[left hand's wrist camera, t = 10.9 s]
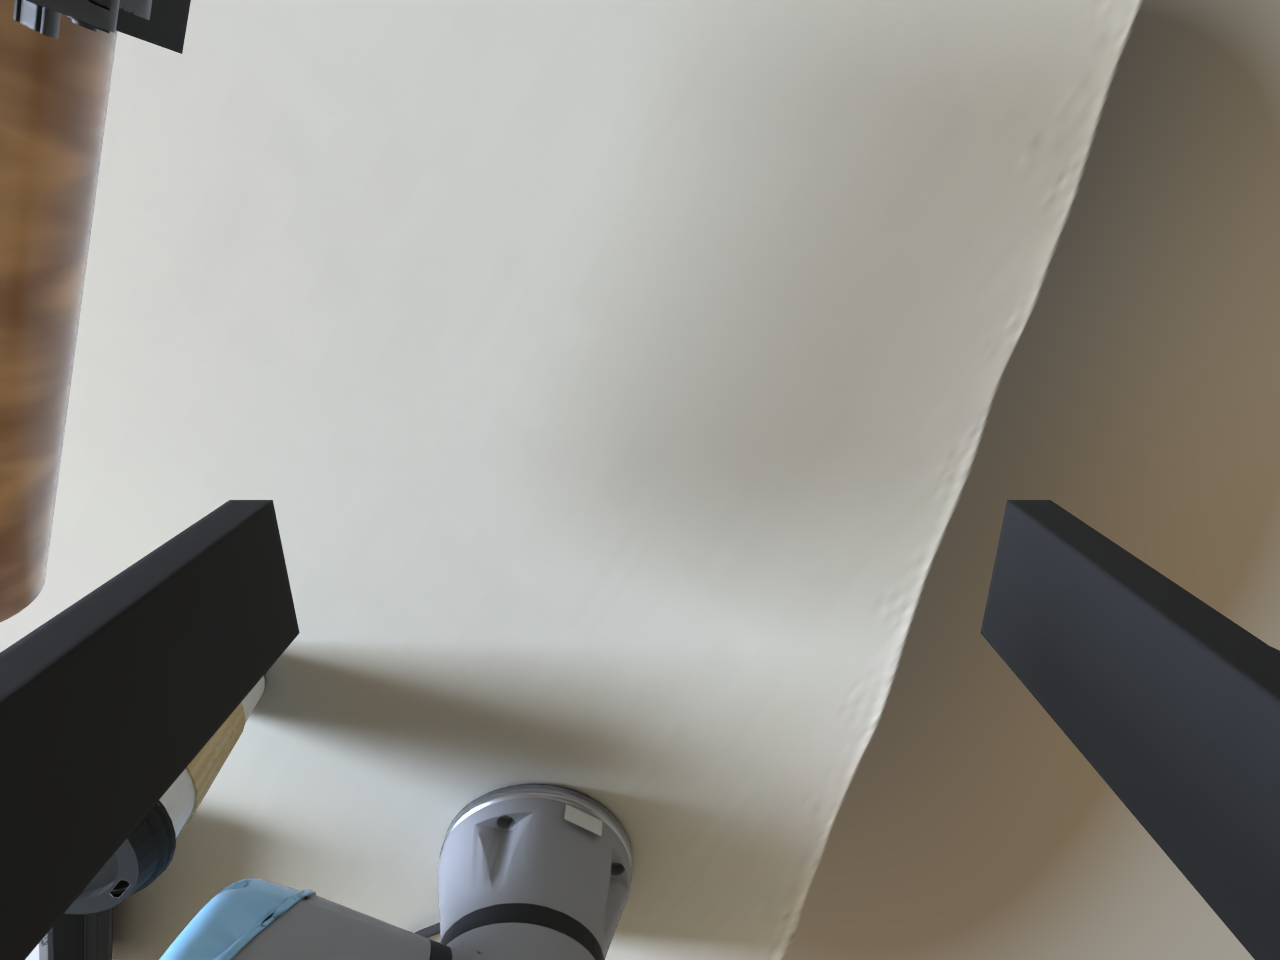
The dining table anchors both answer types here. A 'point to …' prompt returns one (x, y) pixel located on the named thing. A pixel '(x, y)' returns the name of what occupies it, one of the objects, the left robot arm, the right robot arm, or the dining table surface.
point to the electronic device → (78, 938)
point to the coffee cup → (164, 820)
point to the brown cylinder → (42, 269)
